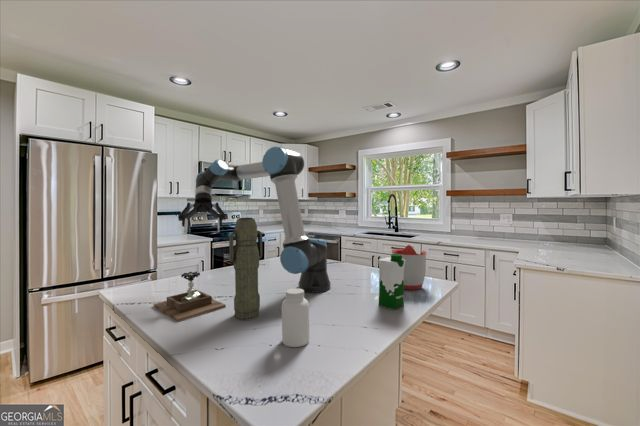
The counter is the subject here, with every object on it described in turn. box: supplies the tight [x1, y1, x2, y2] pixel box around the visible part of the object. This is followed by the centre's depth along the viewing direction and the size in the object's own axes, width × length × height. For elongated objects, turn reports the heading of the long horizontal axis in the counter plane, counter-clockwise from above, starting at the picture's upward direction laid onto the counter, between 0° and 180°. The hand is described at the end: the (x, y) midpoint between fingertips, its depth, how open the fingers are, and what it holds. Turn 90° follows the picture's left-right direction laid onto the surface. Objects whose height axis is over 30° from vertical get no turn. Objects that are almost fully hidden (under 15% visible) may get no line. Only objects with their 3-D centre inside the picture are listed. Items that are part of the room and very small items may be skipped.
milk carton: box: [377, 254, 405, 310], centre depth 114 cm, size 9×9×20 cm
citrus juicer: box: [391, 244, 427, 291], centre depth 138 cm, size 16×17×20 cm
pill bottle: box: [281, 287, 310, 348], centre depth 85 cm, size 8×8×15 cm
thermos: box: [228, 217, 263, 321], centre depth 104 cm, size 9×12×35 cm
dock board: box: [153, 289, 226, 323], centre depth 113 cm, size 22×18×4 cm
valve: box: [180, 271, 201, 303], centre depth 113 cm, size 7×7×12 cm
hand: (202, 231), depth 129 cm, fingers open, 13 cm apart
